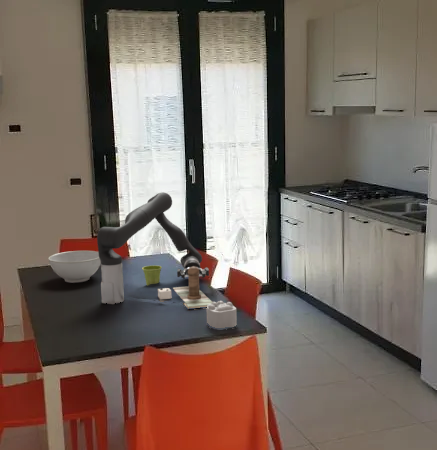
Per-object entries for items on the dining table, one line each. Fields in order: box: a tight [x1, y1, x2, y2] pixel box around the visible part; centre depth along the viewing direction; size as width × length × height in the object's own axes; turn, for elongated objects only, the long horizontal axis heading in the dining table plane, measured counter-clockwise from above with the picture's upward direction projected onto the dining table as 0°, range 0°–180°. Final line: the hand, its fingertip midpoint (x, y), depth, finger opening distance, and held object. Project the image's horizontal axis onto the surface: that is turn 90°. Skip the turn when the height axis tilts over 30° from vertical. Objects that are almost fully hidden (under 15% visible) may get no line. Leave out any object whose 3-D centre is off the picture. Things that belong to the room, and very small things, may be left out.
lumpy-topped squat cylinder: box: [205, 300, 238, 328], centre depth 251 cm, size 10×13×9 cm
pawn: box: [187, 266, 202, 301], centre depth 283 cm, size 6×6×14 cm
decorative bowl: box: [47, 250, 101, 284], centre depth 326 cm, size 27×27×12 cm
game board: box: [172, 285, 213, 309], centre depth 288 cm, size 32×12×2 cm, turn 16°
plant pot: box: [141, 265, 162, 286], centre depth 312 cm, size 9×9×9 cm
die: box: [157, 287, 172, 303], centre depth 286 cm, size 5×5×6 cm
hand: (193, 276), depth 285 cm, fingers open, 8 cm apart
